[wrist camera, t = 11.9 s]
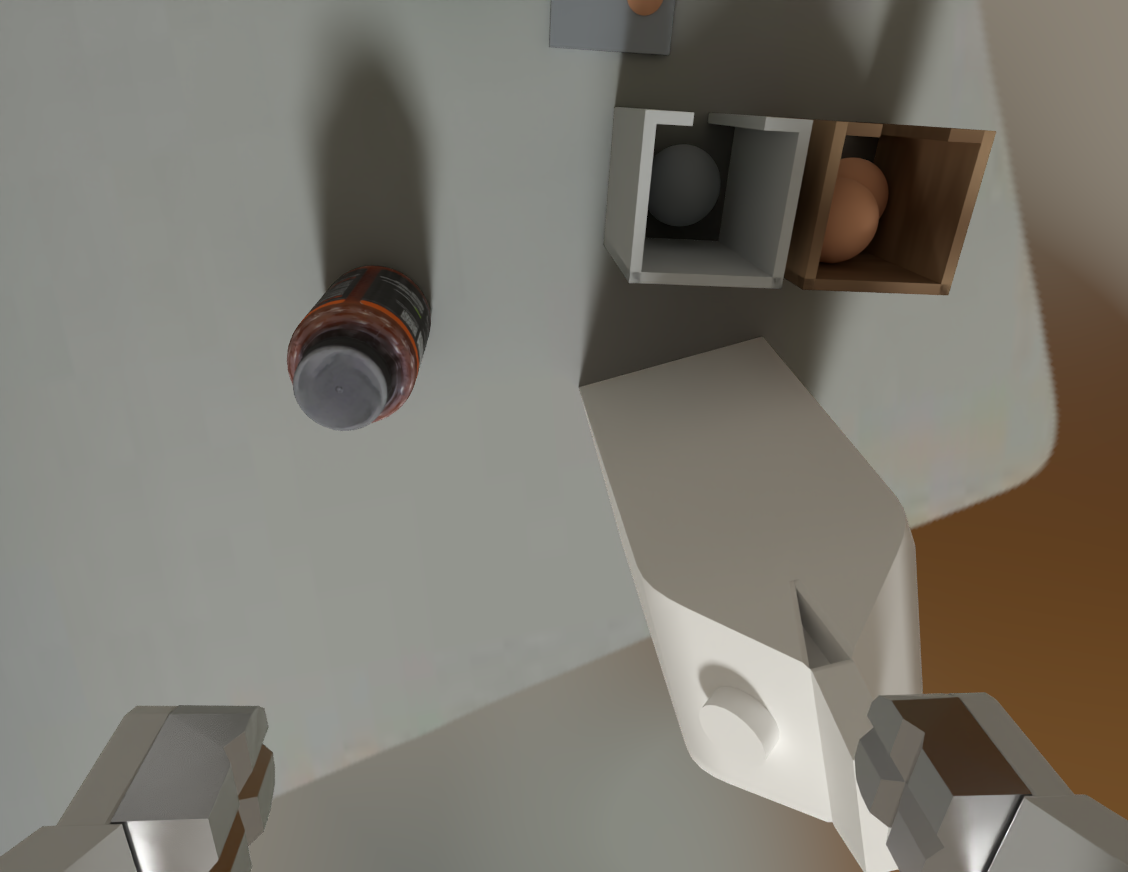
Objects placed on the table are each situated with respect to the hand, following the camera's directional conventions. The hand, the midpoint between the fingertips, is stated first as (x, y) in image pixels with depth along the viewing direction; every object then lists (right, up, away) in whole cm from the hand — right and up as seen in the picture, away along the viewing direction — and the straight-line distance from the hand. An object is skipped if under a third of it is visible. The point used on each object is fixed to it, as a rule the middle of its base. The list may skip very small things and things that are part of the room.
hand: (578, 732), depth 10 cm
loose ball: (+15, +15, +25) cm, 33 cm away
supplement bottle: (-11, +11, +31) cm, 35 cm away
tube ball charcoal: (+6, +18, +29) cm, 34 cm away
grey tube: (+6, +18, +29) cm, 34 cm away
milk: (+8, +3, +36) cm, 37 cm away
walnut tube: (+14, +18, +29) cm, 37 cm away
